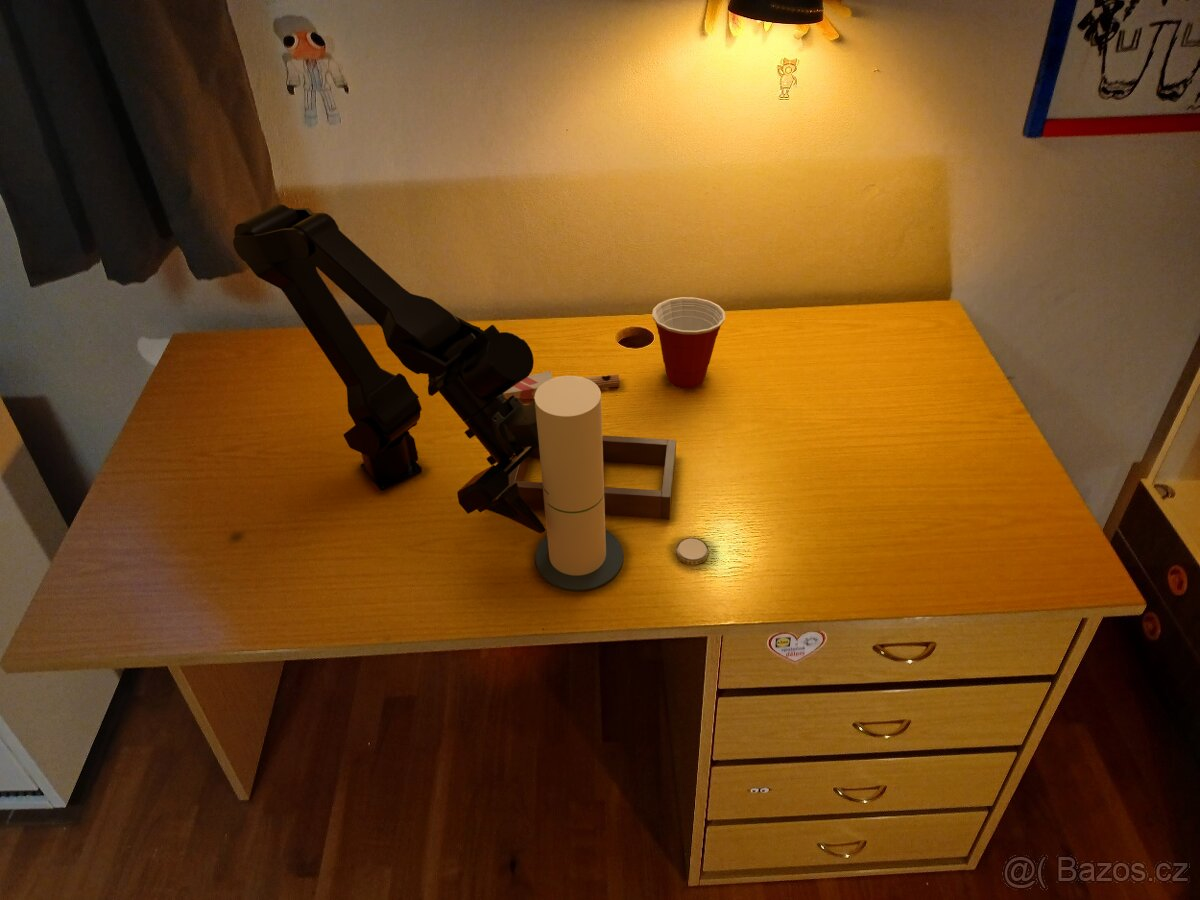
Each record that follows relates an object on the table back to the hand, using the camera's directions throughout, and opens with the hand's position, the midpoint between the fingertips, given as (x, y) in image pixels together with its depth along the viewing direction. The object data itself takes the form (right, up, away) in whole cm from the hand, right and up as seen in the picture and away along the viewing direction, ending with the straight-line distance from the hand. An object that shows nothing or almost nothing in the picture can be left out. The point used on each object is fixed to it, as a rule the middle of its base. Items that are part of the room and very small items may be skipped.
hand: (565, 508), depth 109 cm
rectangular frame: (+3, +2, +15) cm, 15 cm away
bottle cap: (+16, -6, +5) cm, 17 cm away
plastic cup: (+18, +18, +32) cm, 41 cm away
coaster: (+2, -6, +4) cm, 8 cm away
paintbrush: (-3, +16, +30) cm, 34 cm away
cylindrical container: (+1, -6, +5) cm, 8 cm away
